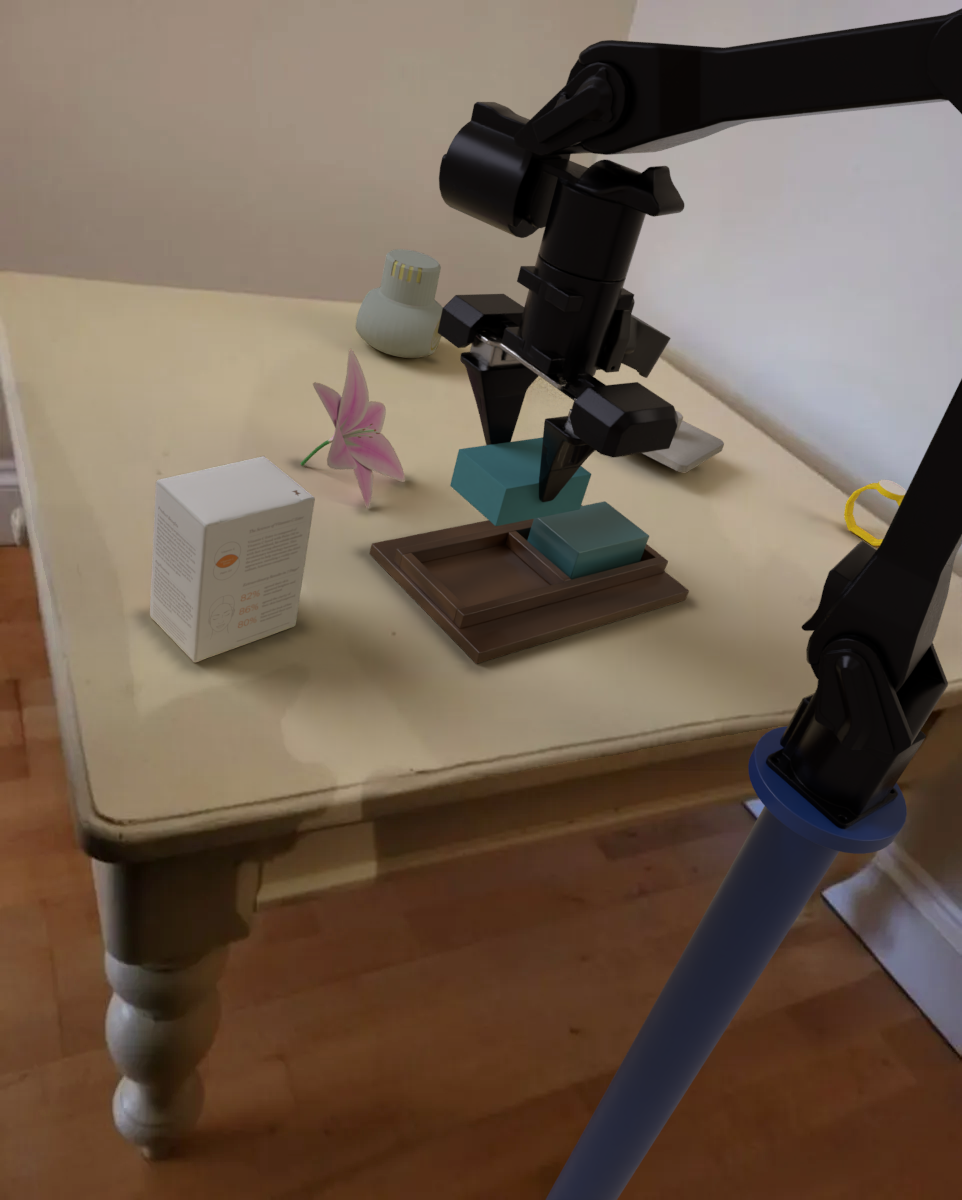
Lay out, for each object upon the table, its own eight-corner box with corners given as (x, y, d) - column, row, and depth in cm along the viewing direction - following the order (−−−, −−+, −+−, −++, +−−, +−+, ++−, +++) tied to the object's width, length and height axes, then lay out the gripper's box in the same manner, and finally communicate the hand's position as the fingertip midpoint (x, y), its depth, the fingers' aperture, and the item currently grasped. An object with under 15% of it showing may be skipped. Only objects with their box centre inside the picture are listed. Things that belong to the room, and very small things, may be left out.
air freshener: (375, 322, 118) (390, 235, 112) (443, 342, 117) (462, 256, 112) (346, 353, 108) (361, 260, 103) (420, 375, 108) (439, 283, 103)
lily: (293, 532, 80) (370, 454, 76) (229, 416, 84) (299, 335, 79) (388, 533, 90) (460, 465, 86) (327, 429, 94) (394, 359, 89)
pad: (580, 509, 74) (591, 473, 73) (495, 526, 70) (506, 488, 68) (533, 472, 78) (543, 437, 76) (449, 485, 73) (458, 448, 71)
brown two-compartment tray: (685, 600, 84) (702, 560, 81) (476, 664, 70) (489, 618, 68) (575, 511, 92) (588, 472, 89) (369, 553, 78) (377, 509, 76)
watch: (831, 526, 101) (857, 473, 98) (843, 519, 103) (869, 468, 100) (885, 557, 99) (913, 504, 95) (896, 549, 100) (925, 498, 97)
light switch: (676, 491, 100) (694, 445, 97) (593, 447, 103) (608, 402, 101) (717, 465, 107) (735, 422, 104) (638, 425, 111) (653, 383, 108)
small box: (250, 584, 72) (266, 453, 66) (297, 628, 69) (318, 495, 63) (145, 616, 66) (153, 476, 60) (192, 666, 64) (205, 524, 58)
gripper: (772, 321, 63) (687, 531, 72) (579, 215, 74) (525, 409, 83) (650, 328, 57) (573, 559, 66) (457, 211, 68) (413, 422, 76)
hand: (520, 479), depth 73 cm, fingers closed on pad, 5 cm apart
